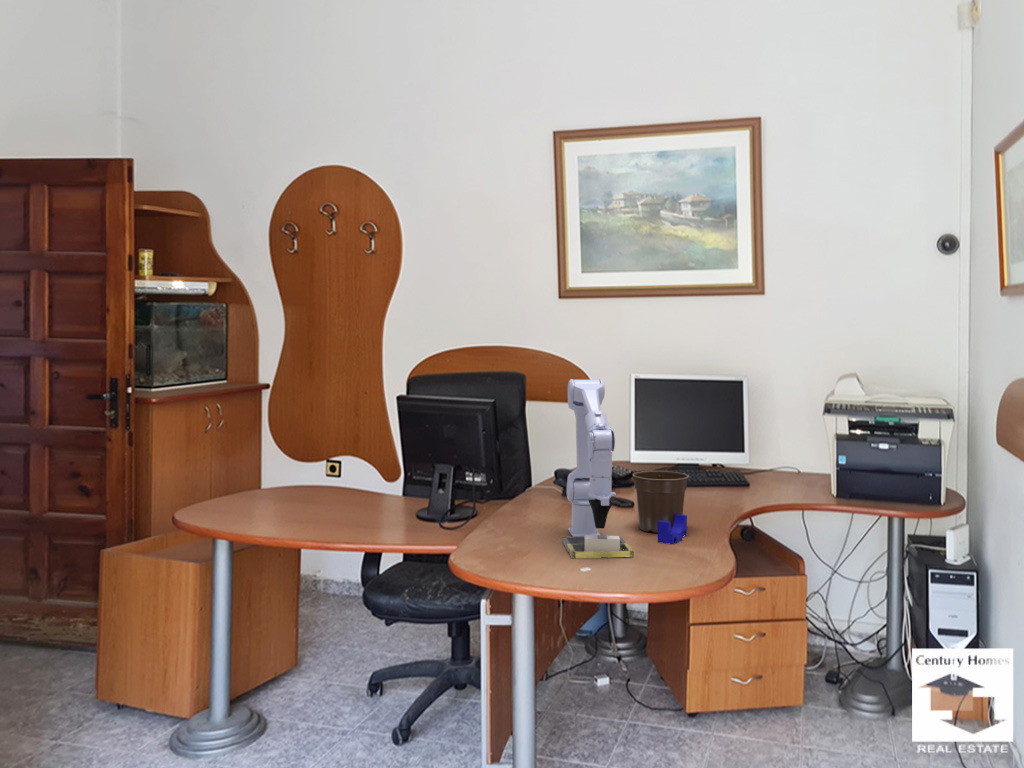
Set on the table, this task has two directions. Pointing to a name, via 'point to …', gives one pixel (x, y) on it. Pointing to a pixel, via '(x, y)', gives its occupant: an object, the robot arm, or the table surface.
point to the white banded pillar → (601, 543)
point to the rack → (595, 554)
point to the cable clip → (676, 532)
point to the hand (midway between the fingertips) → (599, 527)
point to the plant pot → (659, 497)
